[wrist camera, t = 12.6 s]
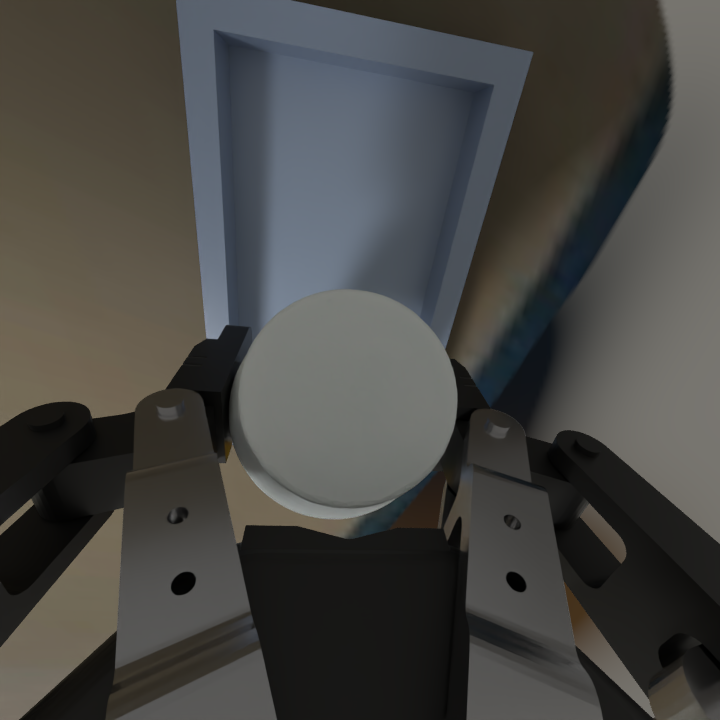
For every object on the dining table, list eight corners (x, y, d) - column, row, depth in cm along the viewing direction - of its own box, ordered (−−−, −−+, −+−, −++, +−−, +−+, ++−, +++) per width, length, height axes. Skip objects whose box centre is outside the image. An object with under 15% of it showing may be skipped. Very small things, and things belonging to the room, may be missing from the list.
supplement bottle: (254, 372, 16) (184, 259, 6) (373, 358, 17) (458, 242, 7) (266, 500, 14) (201, 589, 5) (393, 477, 15) (525, 517, 6)
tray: (406, 424, 23) (414, 453, 20) (227, 414, 21) (215, 444, 19) (501, 67, 14) (533, 51, 11) (201, 5, 12) (174, -25, 10)
